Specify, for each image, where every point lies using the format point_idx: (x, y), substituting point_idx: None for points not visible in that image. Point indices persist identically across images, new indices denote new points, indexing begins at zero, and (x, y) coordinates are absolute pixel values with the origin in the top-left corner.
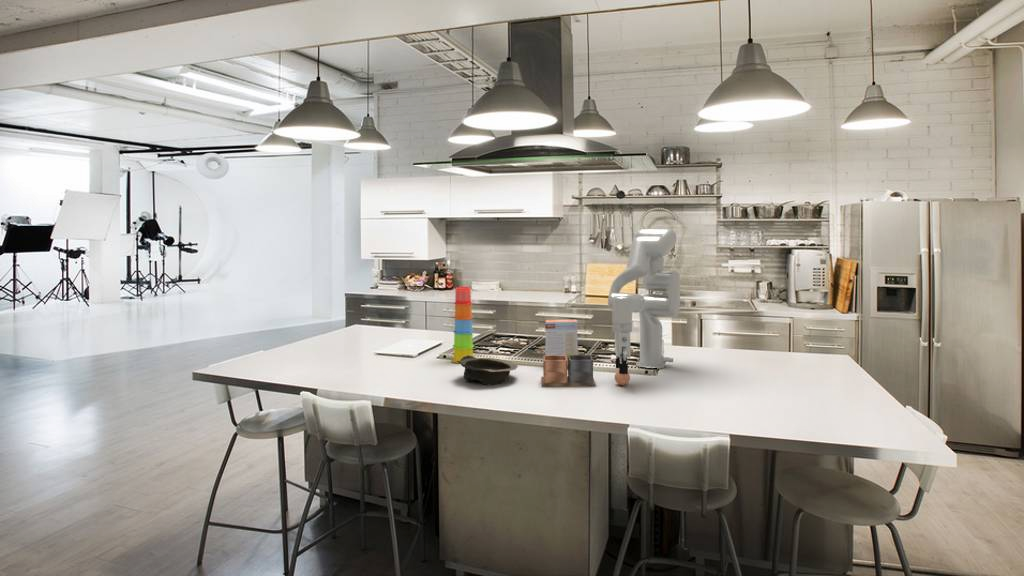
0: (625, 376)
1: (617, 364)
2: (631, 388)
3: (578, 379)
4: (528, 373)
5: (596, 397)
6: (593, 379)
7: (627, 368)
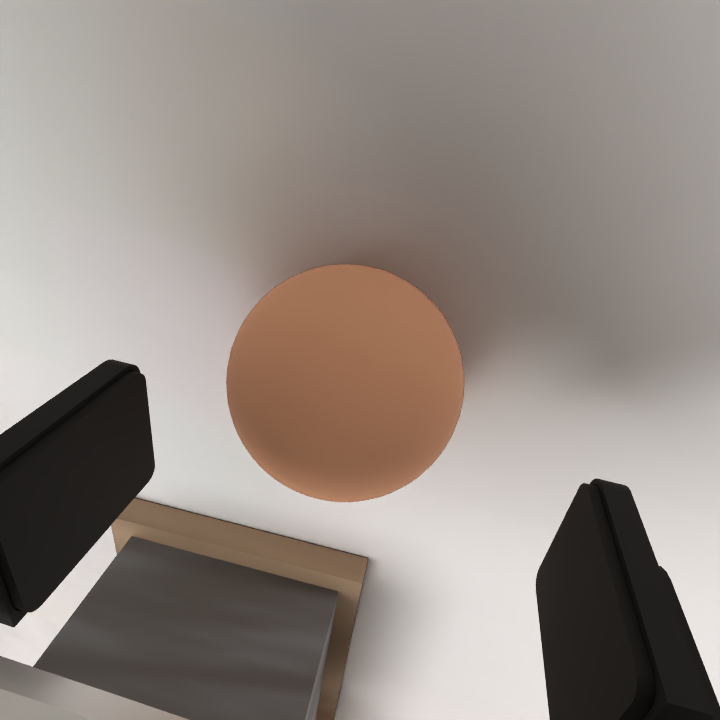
0: (454, 402)
1: (111, 502)
2: (551, 275)
3: (317, 695)
4: None
5: (716, 668)
6: (228, 552)
7: (658, 583)
